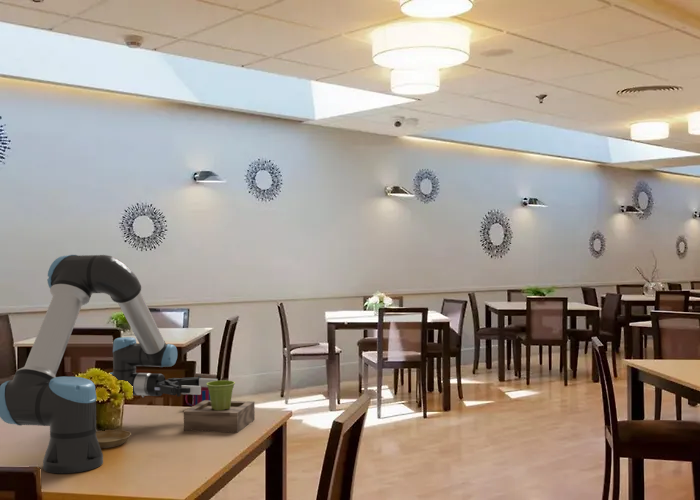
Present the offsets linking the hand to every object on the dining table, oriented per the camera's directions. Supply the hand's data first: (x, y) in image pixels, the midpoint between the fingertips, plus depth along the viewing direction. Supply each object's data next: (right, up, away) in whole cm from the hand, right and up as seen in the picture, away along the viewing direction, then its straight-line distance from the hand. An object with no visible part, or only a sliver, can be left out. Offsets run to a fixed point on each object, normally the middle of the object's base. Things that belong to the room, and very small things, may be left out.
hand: (209, 386), depth 246 cm
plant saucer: (-27, -13, -23) cm, 38 cm away
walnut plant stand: (+4, -13, -1) cm, 13 cm away
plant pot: (+4, -8, +1) cm, 9 cm away
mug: (-9, -13, +26) cm, 31 cm away
